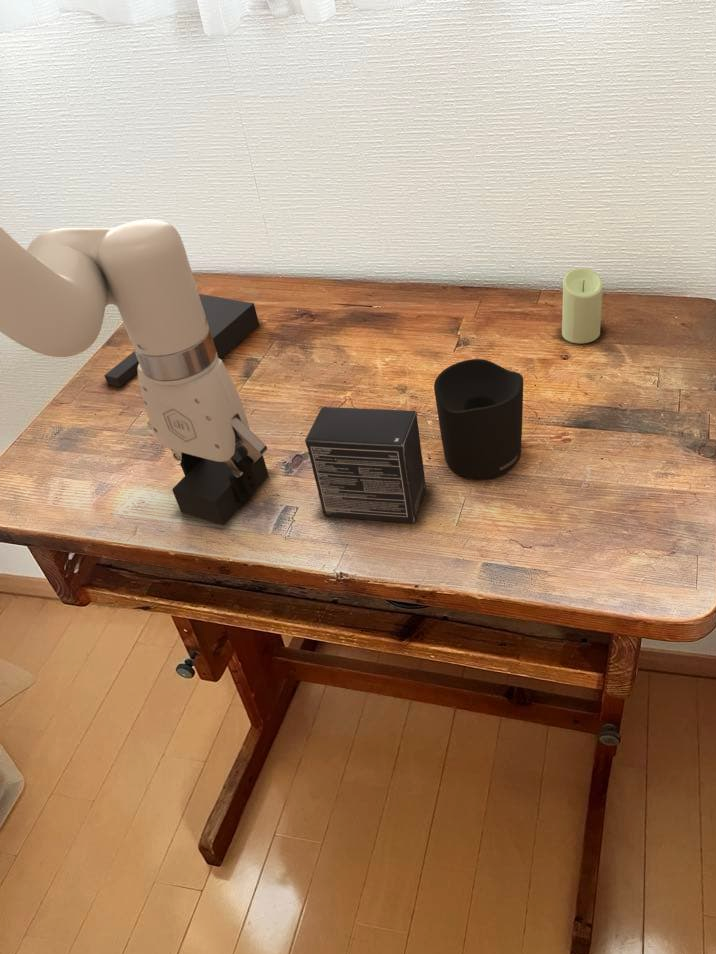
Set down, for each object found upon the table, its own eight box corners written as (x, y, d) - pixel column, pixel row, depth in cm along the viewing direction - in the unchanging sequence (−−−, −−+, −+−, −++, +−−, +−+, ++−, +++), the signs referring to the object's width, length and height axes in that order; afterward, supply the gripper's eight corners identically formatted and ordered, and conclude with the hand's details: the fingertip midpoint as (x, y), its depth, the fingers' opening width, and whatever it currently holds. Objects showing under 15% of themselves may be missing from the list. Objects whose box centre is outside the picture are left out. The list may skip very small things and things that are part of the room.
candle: (605, 339, 109) (609, 281, 103) (569, 347, 109) (571, 289, 103) (591, 321, 113) (594, 264, 107) (556, 328, 112) (557, 272, 107)
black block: (223, 525, 91) (214, 502, 89) (181, 512, 94) (171, 489, 91) (269, 475, 97) (262, 451, 94) (227, 464, 99) (220, 441, 97)
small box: (428, 484, 92) (419, 407, 85) (415, 525, 88) (405, 447, 81) (338, 478, 95) (321, 402, 88) (321, 517, 90) (302, 441, 83)
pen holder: (446, 488, 92) (439, 415, 85) (437, 437, 98) (429, 365, 91) (531, 477, 91) (531, 402, 84) (516, 426, 98) (514, 353, 91)
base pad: (174, 400, 110) (166, 378, 108) (107, 384, 115) (98, 362, 112) (259, 324, 122) (254, 303, 120) (195, 312, 127) (189, 291, 124)
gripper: (86, 357, 83) (145, 492, 96) (223, 388, 76) (267, 529, 89) (135, 319, 88) (185, 453, 100) (269, 346, 81) (304, 485, 93)
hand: (223, 487), depth 94 cm, fingers closed on black block, 6 cm apart
